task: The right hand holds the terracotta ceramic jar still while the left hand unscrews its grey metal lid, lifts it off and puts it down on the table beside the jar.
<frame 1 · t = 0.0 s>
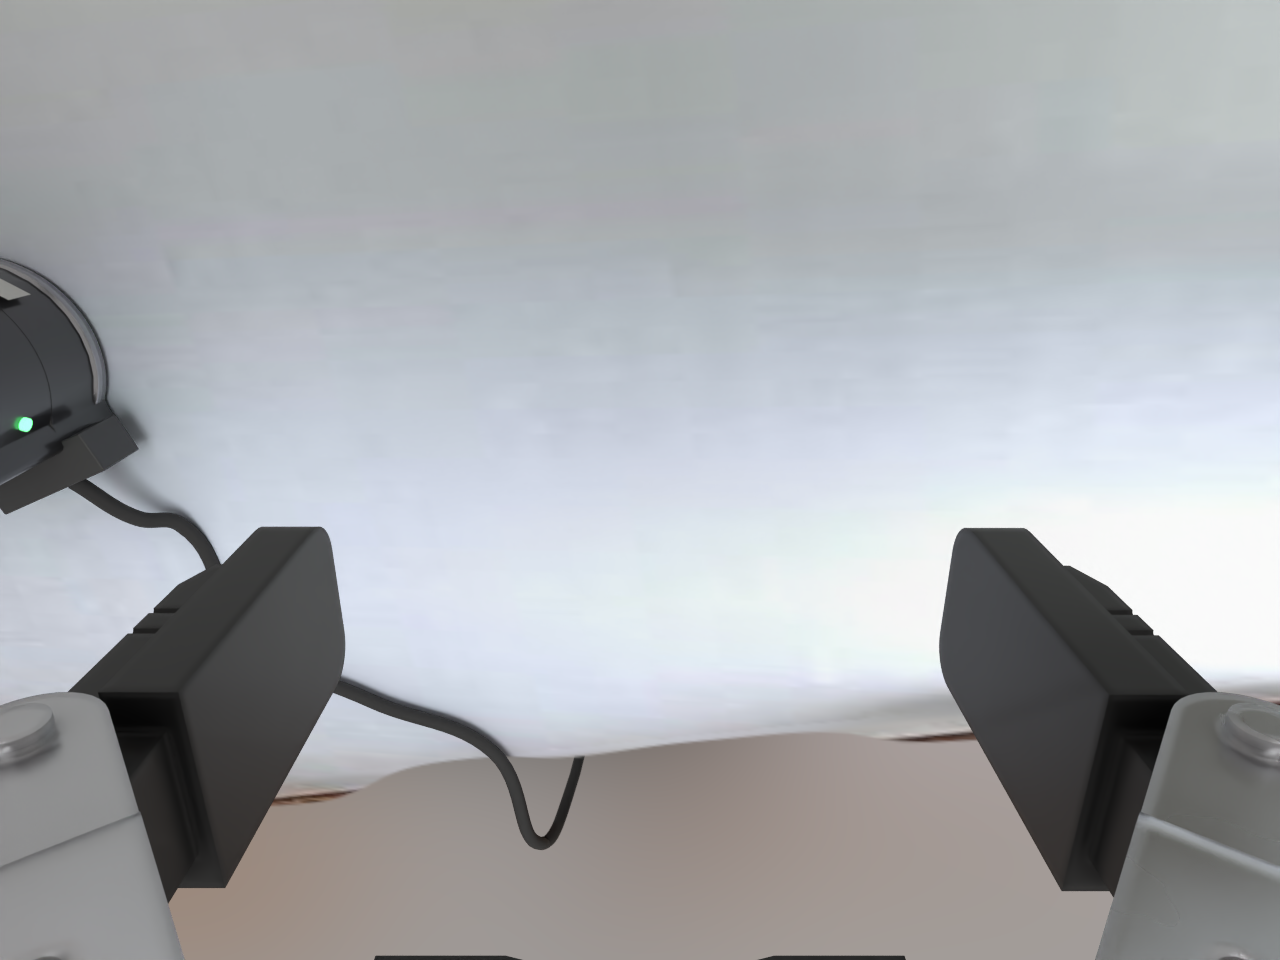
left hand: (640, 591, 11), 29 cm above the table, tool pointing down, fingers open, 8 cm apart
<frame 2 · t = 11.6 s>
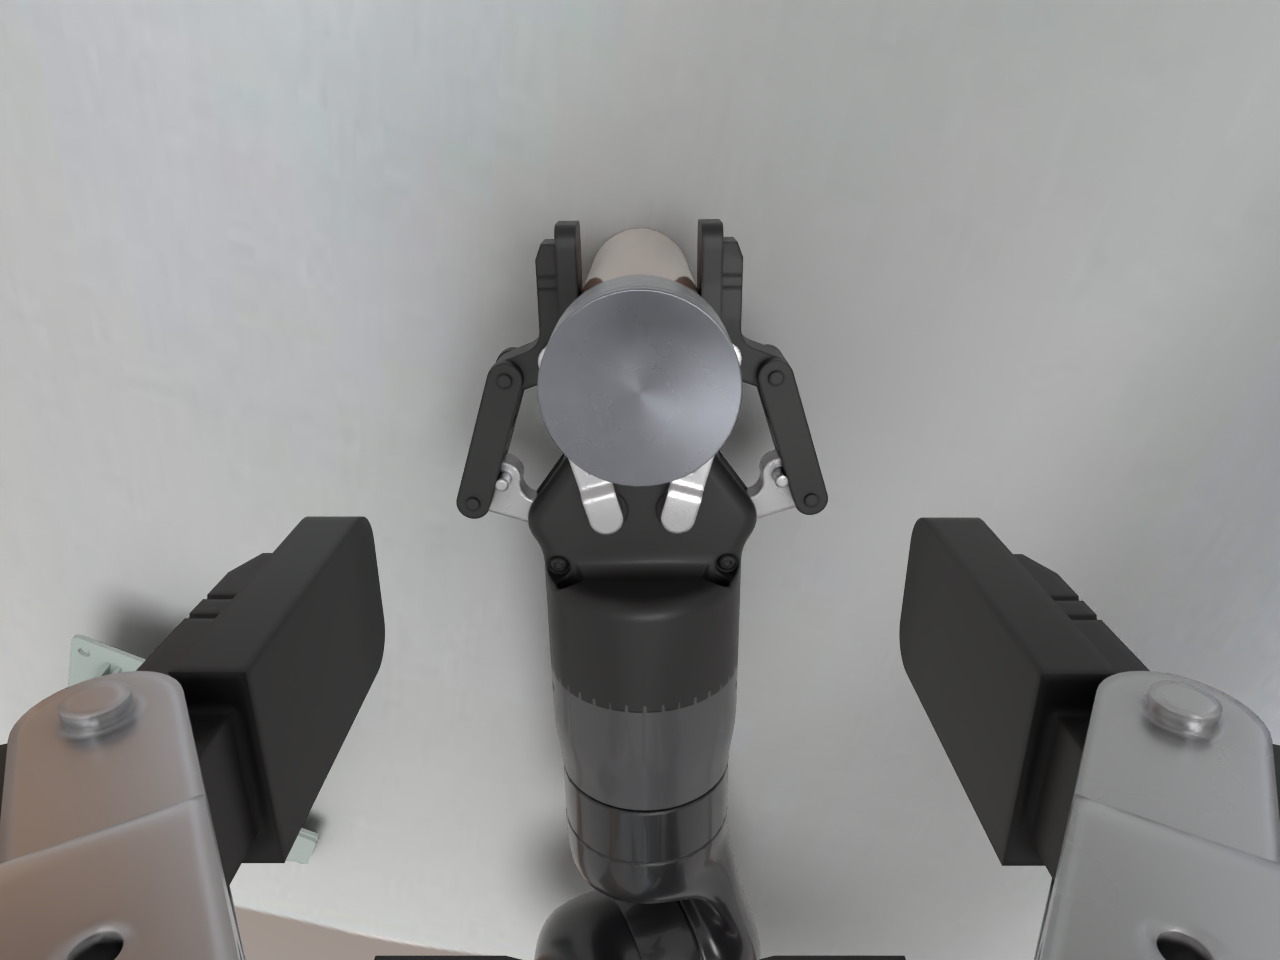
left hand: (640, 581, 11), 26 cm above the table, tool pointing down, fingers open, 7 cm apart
right hand: (637, 224, 28), fingers closed on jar, 4 cm apart
metal bracket: (208, 717, 43), on the table
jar: (639, 279, 35), on the table, touching right hand
lid: (639, 388, 20), point 16 cm above the table, screwed on, not yet turned
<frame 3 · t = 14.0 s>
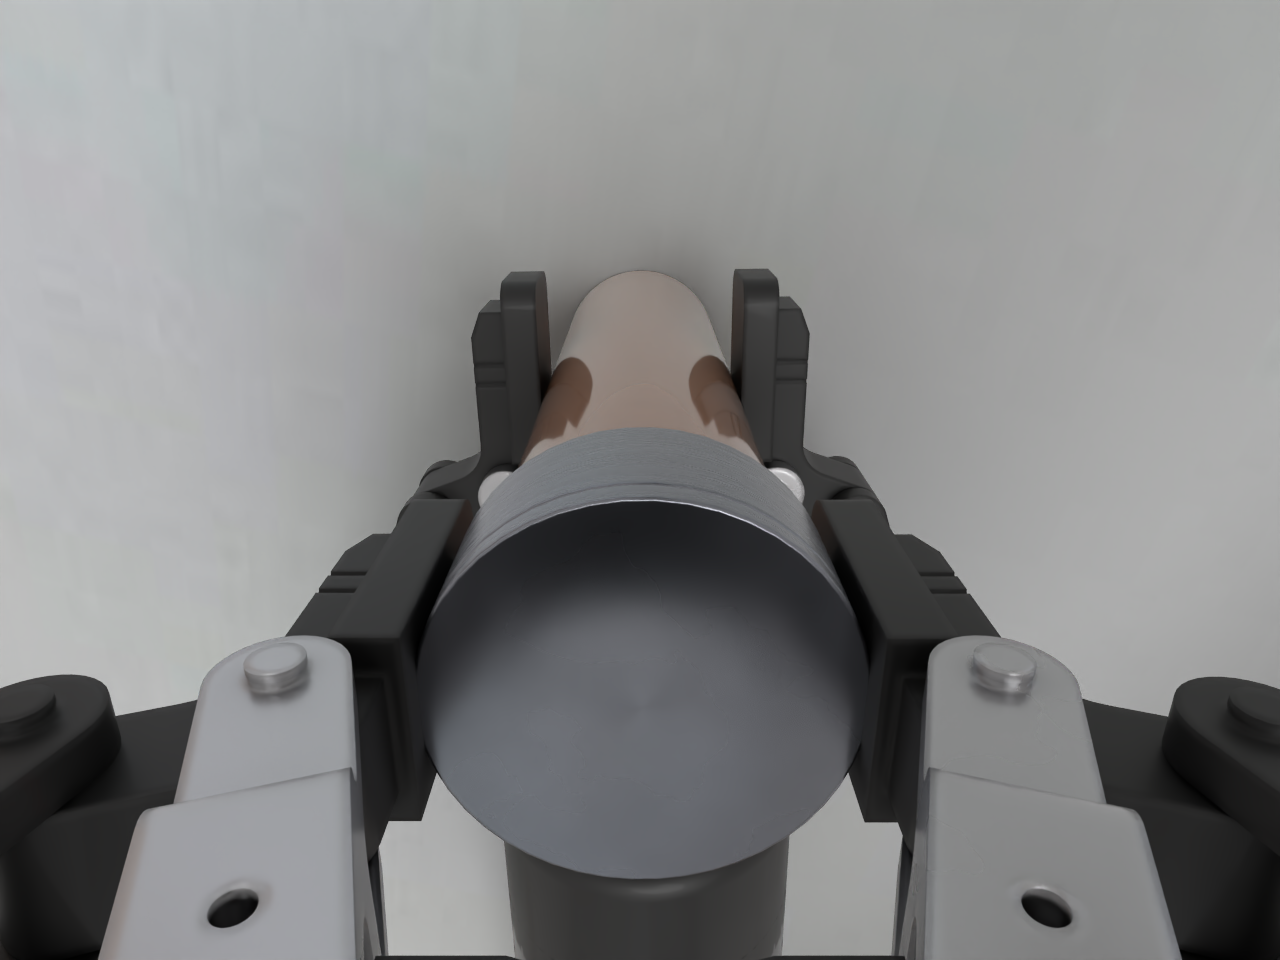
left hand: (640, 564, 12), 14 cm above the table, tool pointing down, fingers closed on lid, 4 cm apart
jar: (641, 343, 24), on the table, touching right hand
lid: (642, 688, 9), point 16 cm above the table, screwed on, not yet turned, touching left hand
when the left hand's fingers open (14 cm above the table, at t = 22.7 s): lid stays where it is, point 17 cm above the table.
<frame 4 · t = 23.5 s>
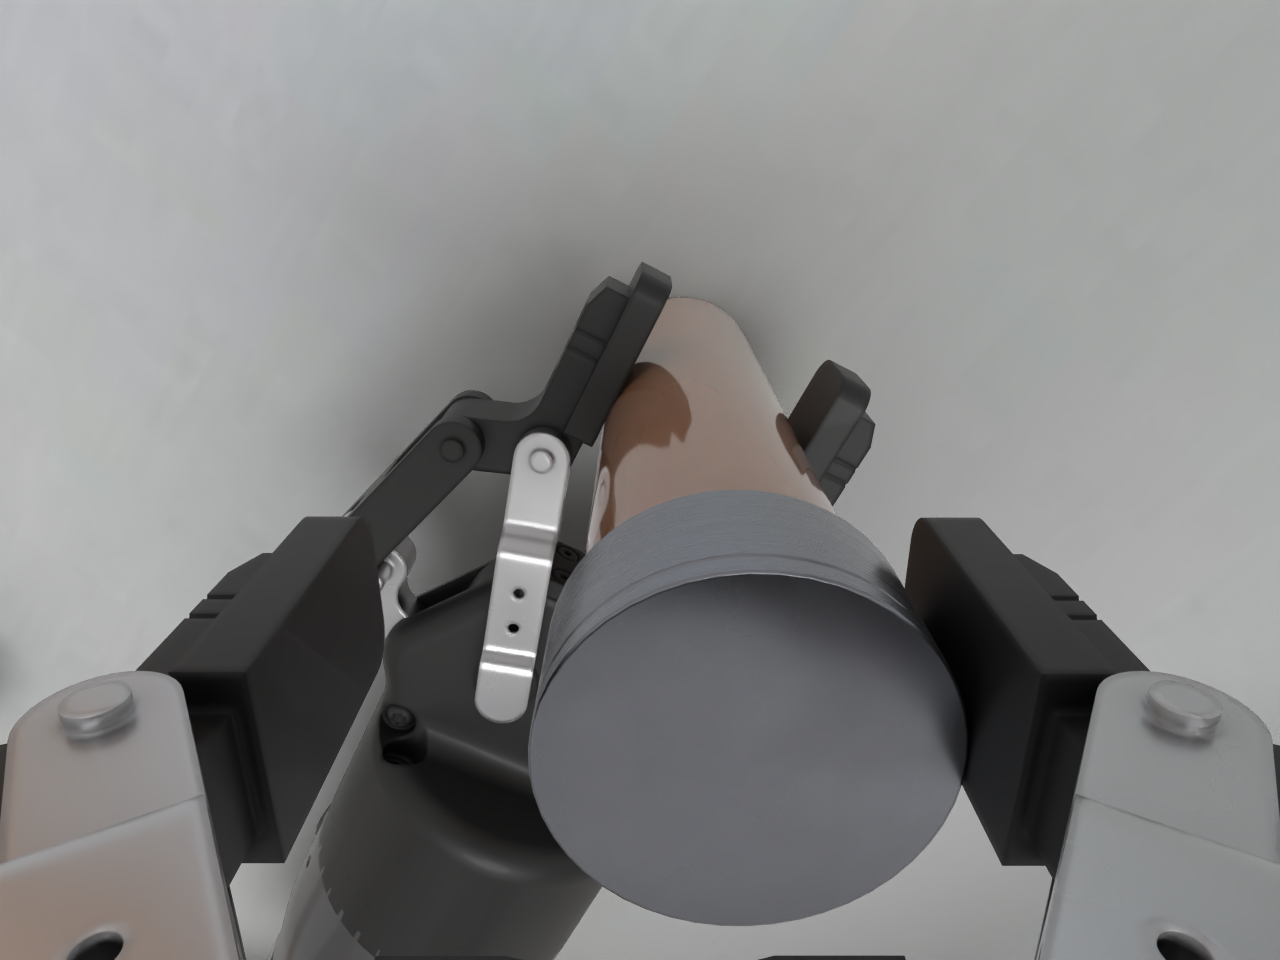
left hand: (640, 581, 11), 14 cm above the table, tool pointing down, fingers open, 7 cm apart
right hand: (751, 328, 18), fingers closed on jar, 4 cm apart
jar: (681, 367, 25), on the table, touching right hand
lid: (744, 744, 10), point 17 cm above the table, turned 266° so far, risen 0.3 cm, still on its thread, touching left hand
when the right hand's fingers open (6 cm above the table, at t = 32.6 s): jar stays where it is, on the table.
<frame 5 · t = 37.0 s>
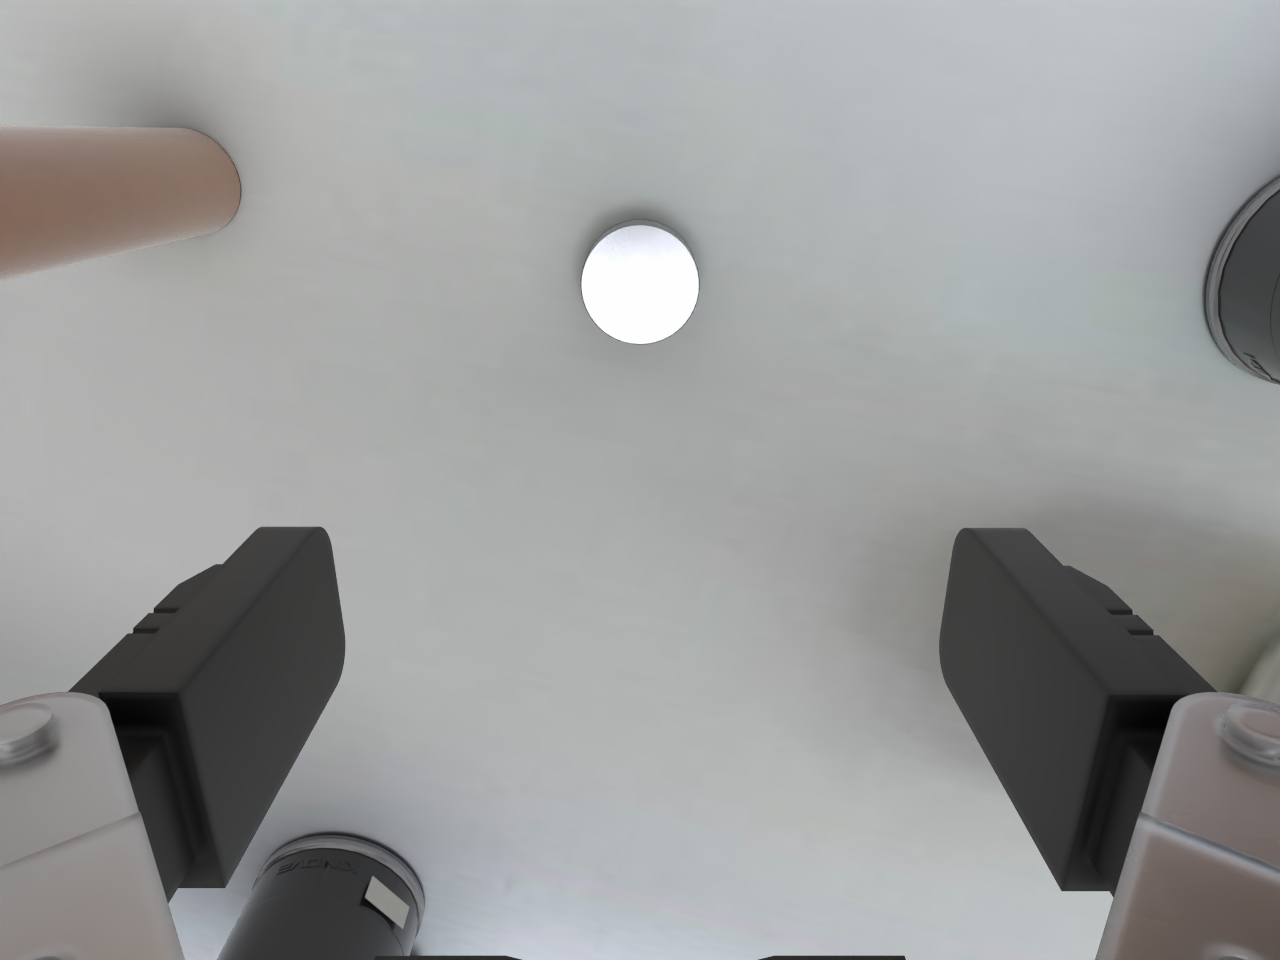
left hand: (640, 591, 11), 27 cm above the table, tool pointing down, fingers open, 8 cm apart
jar: (189, 182, 35), on the table
lid: (640, 284, 34), point 2 cm above the table, off its thread
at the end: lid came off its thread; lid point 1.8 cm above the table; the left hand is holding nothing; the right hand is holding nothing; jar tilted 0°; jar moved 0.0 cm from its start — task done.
